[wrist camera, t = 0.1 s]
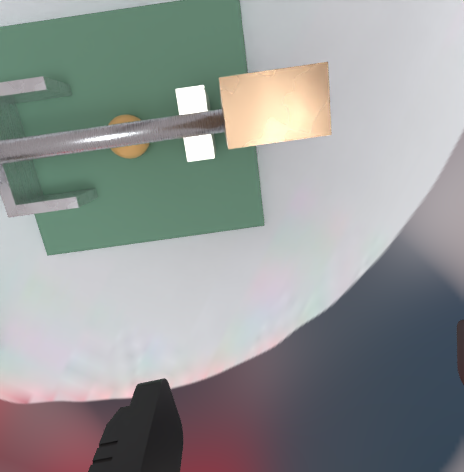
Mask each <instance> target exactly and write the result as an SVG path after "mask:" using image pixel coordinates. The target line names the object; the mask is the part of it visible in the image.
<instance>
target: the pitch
mask: <svg viewBox="0 0 464 472" xmlns="http://www.w3.org/2000/svg"><path fill="white" fill-rule="evenodd" d="M240 74H247V64H246V55H245V47H244V38H243V29H242V20H241V11H240V2H239V0H180V1H174V2H167V3H160V4H153V5H146V6H140V7H133V8H126V9H119V10H112V11H106V12H99V13H92V14H85V15H78V16H72V17H65V18H58V19H51V20H44V21H38V22H31V23H24V24H17V25H10V26H4V27H0V82H7V81H14V80H21V79H28V78H35V77H42V76H44V77H47V78H50V79H53V80H56V81H60V82H63V83H66V84H69V86H70V90H71V93H72V96H67V97H60V98H53V99H46V100H39V101H32V102H25V103H18V104H16V106H17V109H18V112H19V116H20V119H21V122H22V126H23V129H24V132H25V136H26V137H28V136H35V135H42V134H49V133H56V132H63V131H70V130H77V129H84V128H91V127H98V126H105V125H108V124H109V123H110V121H111V120H112V119H114V118H115V117H117V116H119V115H126V114H127V115H133V116H135V117H138V118H139V119H141V120H147V119H154V118H161V117H168V116H175V115H180V114H179V108H178V102H177V96H176V90H175V89H180V88H187V87H194V86H201V85H204V87H205V90H206V92H207V95H208V97H209V103H210V110H217V109H222V108H221V101H220V90H219V77H226V76H233V75H240ZM214 138H215V144H216V155H215V158H211V159H204V160H197V161H190V162H188V161H187V155H186V149H185V143H184V138H181V139H174V140H167V141H160V142H153V143H149V146H148V148H147V150H146V151H145V153H143V154H142V155H141V156H139V157H137V158H132V159H127V158H123V157H120V156H118V155H117V154H115V153H114V152H113V151H112V150H111V149H103V150H96V151H89V152H82V153H75V154H68V155H61V156H54V157H47V158H40V159H33V162H34V166H35V169H36V172H37V176H38V179H39V182H40V186H41V189H42V192H43V195H50V194H57V193H65V192H72V191H79V190H86V189H93V188H96V192H97V196H98V198H96V199H94V200H92V201H90V202H89V203H87V204H85V205H83V206H81V207H79V208H73V209H65V210H58V211H51V212H44V213H37V214H35V217H36V221H37V224H38V227H39V230H40V233H41V237H42V240H43V243H44V246H45V249H46V252H47V256H48V255H55V254H62V253H70V252H77V251H84V250H91V249H98V248H106V247H113V246H120V245H127V244H135V243H142V242H149V241H156V240H163V239H171V238H178V237H185V236H192V235H200V234H207V233H214V232H221V231H228V230H236V229H243V228H250V227H257V226H264V217H263V208H262V199H261V190H260V181H259V172H258V163H257V154H256V145H255V146H248V147H241V148H234V149H228V147H227V144H226V137H225V132H223V133H216V134H214Z"/></svg>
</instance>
